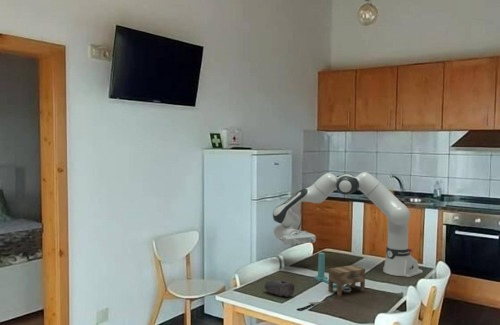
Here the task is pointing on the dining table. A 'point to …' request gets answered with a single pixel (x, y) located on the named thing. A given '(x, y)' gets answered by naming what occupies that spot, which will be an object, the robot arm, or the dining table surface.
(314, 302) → the cleaver
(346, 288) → the metal token
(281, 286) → the perforated stone tool
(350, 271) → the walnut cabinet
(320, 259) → the teal post stand
